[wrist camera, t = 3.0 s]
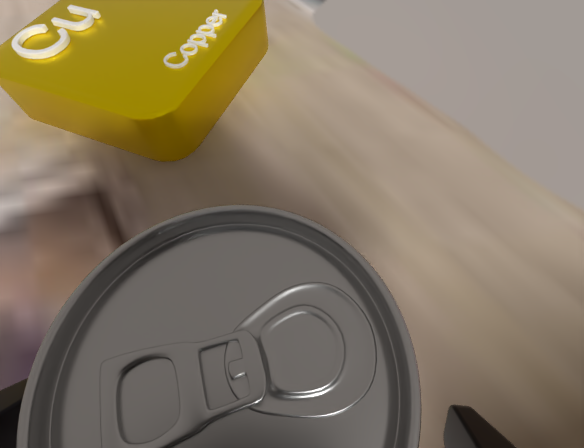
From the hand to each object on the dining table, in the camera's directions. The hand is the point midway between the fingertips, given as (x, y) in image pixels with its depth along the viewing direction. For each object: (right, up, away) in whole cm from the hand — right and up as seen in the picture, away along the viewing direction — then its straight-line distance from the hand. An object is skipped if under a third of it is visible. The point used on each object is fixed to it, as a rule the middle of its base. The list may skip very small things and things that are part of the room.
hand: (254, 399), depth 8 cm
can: (0, -4, +7) cm, 8 cm away
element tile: (-10, +16, +20) cm, 27 cm away
